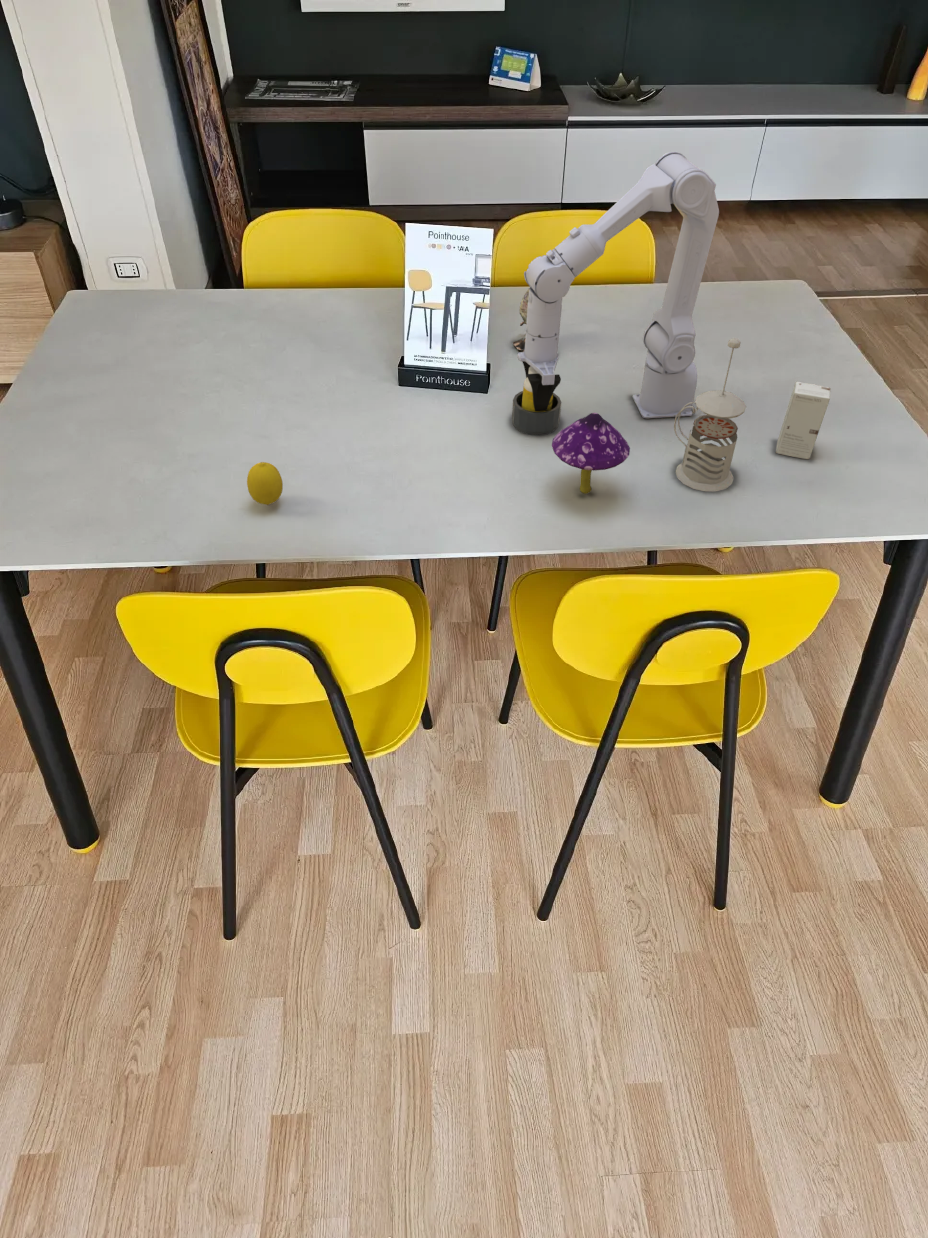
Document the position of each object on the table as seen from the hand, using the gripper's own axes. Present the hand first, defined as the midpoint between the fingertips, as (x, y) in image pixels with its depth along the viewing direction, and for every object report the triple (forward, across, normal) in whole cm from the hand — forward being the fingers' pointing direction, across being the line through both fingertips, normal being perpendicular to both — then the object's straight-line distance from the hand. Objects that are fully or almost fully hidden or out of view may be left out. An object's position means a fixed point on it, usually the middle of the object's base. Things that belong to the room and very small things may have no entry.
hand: (537, 401), depth 170 cm
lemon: (+5, +20, -48) cm, 52 cm away
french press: (+5, +19, +25) cm, 32 cm away
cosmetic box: (+5, +14, +44) cm, 46 cm away
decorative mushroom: (+5, +22, +4) cm, 23 cm away
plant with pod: (+5, -29, +5) cm, 30 cm away
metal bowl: (+4, 0, 0) cm, 4 cm away
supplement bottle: (+4, 0, 0) cm, 4 cm away
